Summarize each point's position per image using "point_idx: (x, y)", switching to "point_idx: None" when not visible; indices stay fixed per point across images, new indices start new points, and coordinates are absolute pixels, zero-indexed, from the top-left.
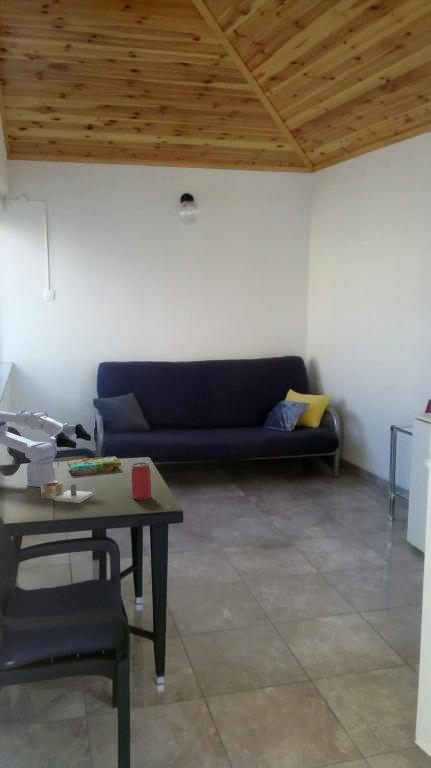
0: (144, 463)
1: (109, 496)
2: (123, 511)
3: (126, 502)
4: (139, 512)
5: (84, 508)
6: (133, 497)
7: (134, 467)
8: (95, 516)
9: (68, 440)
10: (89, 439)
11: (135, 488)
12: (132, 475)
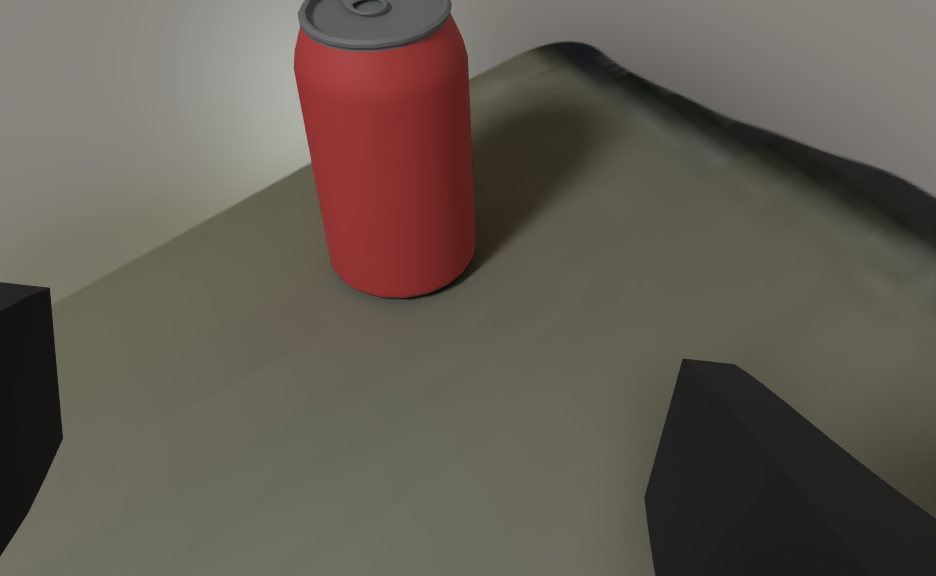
0: (307, 14)
1: (492, 464)
2: (719, 197)
3: (554, 275)
4: (668, 135)
5: (893, 426)
6: (467, 263)
7: (447, 24)
8: (932, 260)
9: (904, 504)
10: (54, 395)
11: (472, 179)
12: (459, 105)
